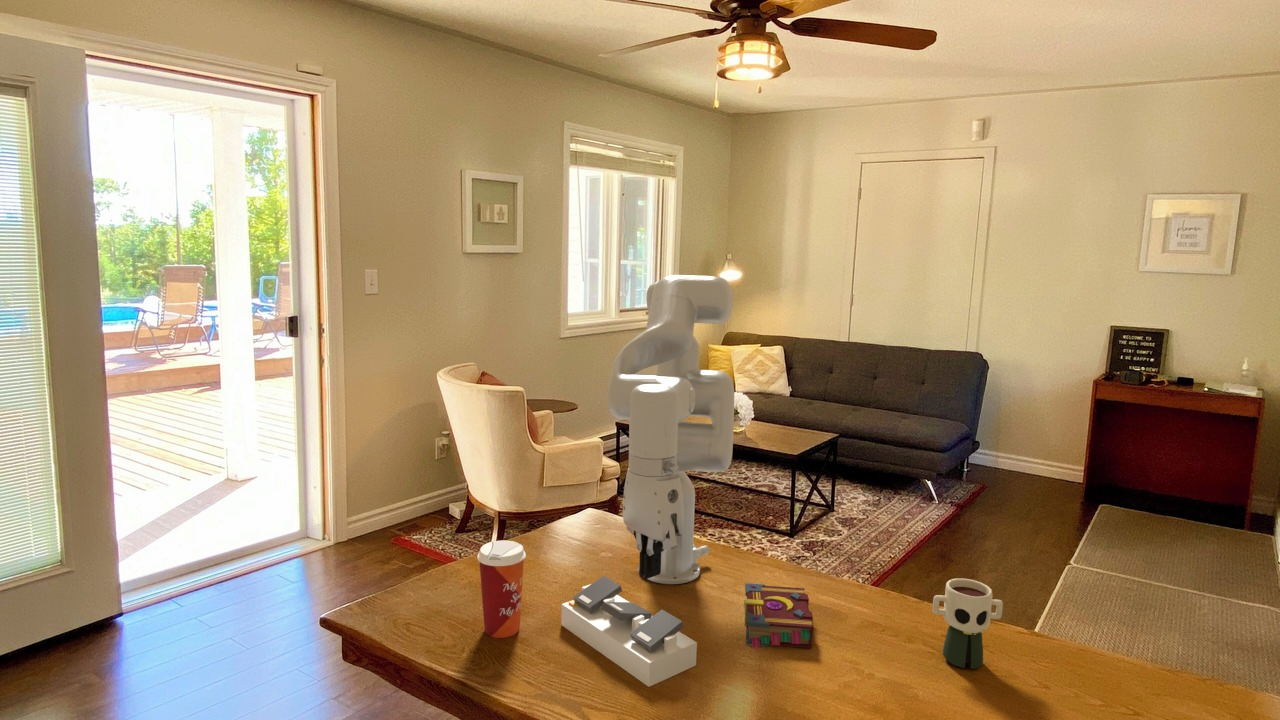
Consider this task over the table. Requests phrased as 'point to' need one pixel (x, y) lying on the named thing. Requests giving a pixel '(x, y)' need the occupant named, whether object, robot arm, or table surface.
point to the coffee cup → (501, 586)
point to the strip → (629, 643)
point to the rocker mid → (625, 610)
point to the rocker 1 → (597, 594)
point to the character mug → (966, 619)
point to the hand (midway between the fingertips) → (649, 574)
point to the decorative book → (777, 616)
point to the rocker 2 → (656, 630)
